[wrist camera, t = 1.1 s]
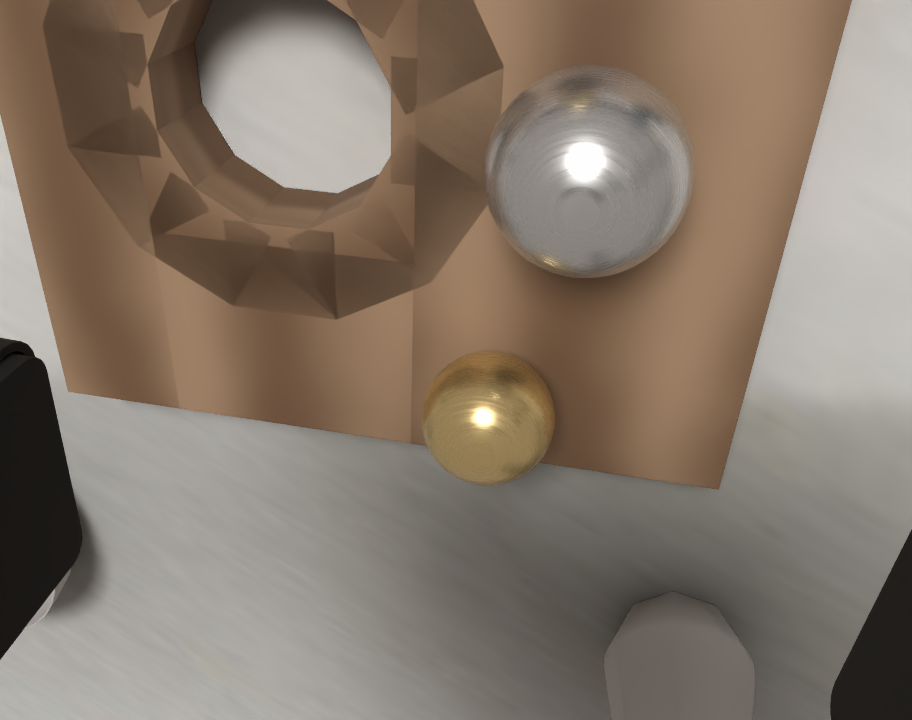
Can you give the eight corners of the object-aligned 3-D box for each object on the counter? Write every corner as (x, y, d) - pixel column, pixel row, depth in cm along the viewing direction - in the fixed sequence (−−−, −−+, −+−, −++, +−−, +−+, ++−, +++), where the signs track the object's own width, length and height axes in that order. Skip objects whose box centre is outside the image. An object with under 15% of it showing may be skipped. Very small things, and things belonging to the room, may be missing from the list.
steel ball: (707, 52, 21) (723, 109, 17) (671, 239, 24) (676, 328, 20) (506, 35, 22) (473, 86, 18) (493, 219, 24) (461, 301, 20)
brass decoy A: (567, 336, 26) (555, 411, 23) (553, 440, 28) (541, 523, 25) (438, 318, 26) (408, 390, 23) (434, 423, 29) (406, 502, 25)
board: (918, -372, 19) (961, -402, 16) (712, 434, 30) (718, 489, 28) (-41, -390, 22) (-130, -418, 19) (111, 349, 33) (68, 391, 31)
